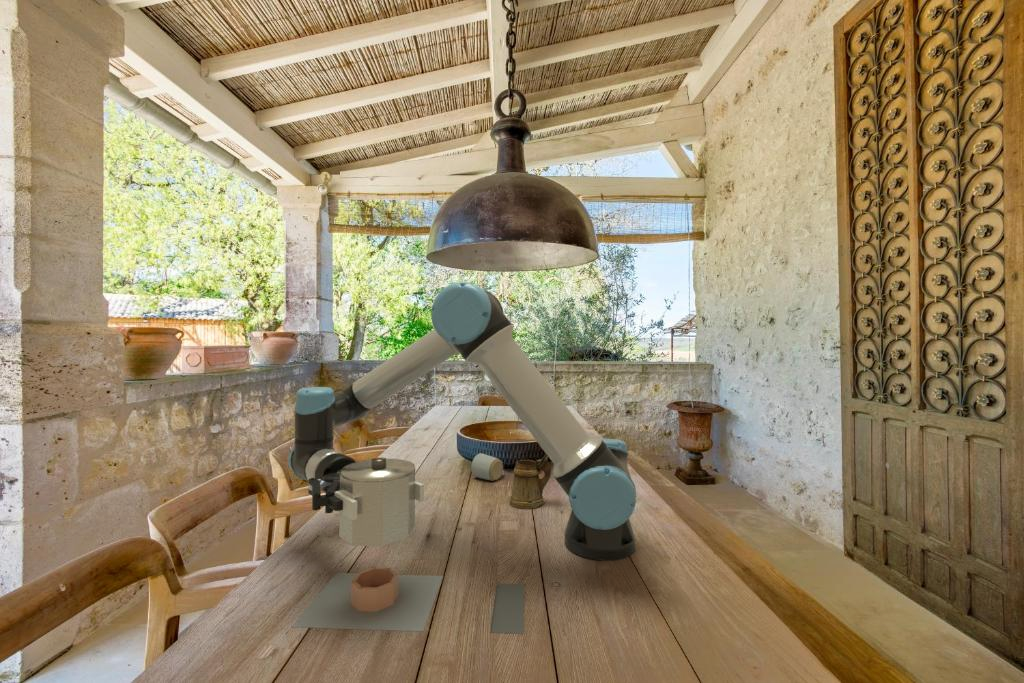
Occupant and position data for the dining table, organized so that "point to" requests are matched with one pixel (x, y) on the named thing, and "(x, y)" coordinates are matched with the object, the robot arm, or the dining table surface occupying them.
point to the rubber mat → (508, 609)
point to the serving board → (401, 616)
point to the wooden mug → (529, 483)
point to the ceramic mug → (487, 467)
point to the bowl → (374, 589)
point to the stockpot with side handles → (378, 501)
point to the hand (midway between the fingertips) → (390, 501)
